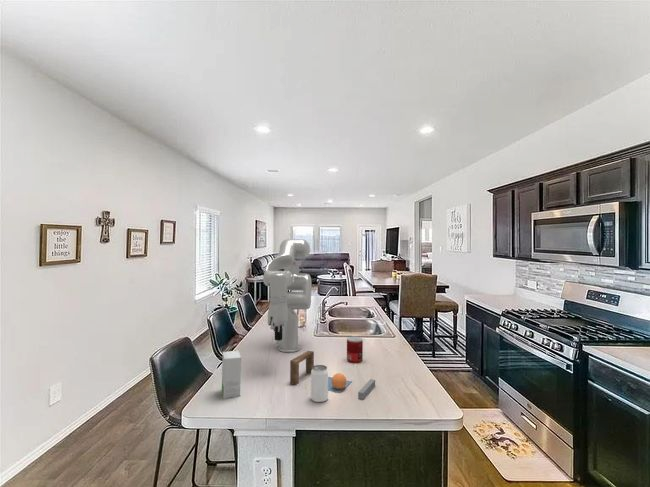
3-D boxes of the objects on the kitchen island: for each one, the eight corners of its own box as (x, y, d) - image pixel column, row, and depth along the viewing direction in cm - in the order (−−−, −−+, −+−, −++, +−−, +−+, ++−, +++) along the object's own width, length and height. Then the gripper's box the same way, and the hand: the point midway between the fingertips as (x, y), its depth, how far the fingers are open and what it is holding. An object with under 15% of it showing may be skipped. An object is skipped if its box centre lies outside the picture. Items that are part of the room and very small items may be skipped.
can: (310, 395, 133) (310, 364, 133) (327, 394, 134) (327, 364, 134) (311, 403, 127) (311, 370, 127) (328, 402, 127) (328, 370, 127)
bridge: (290, 383, 144) (290, 360, 144) (308, 371, 157) (308, 350, 157) (296, 384, 143) (296, 361, 143) (313, 372, 156) (313, 351, 156)
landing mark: (313, 387, 141) (313, 386, 141) (326, 376, 151) (326, 376, 151) (340, 393, 135) (340, 392, 135) (351, 382, 146) (351, 381, 146)
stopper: (358, 398, 130) (358, 392, 130) (370, 384, 143) (370, 378, 143) (363, 399, 130) (363, 393, 130) (375, 385, 142) (375, 379, 142)
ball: (339, 393, 135) (327, 386, 138) (346, 389, 141) (334, 382, 144) (344, 379, 135) (331, 372, 138) (350, 375, 140) (338, 369, 143)
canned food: (361, 363, 168) (361, 341, 167) (345, 362, 169) (345, 340, 169) (363, 358, 175) (363, 337, 175) (347, 357, 177) (347, 336, 177)
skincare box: (221, 390, 137) (221, 351, 137) (238, 387, 140) (238, 349, 140) (223, 399, 130) (223, 358, 129) (241, 396, 132) (241, 356, 132)
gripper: (281, 296, 164) (281, 334, 165) (261, 301, 151) (261, 343, 151) (294, 298, 161) (294, 336, 161) (275, 303, 147) (275, 345, 148)
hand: (278, 339), depth 156 cm, fingers closed
